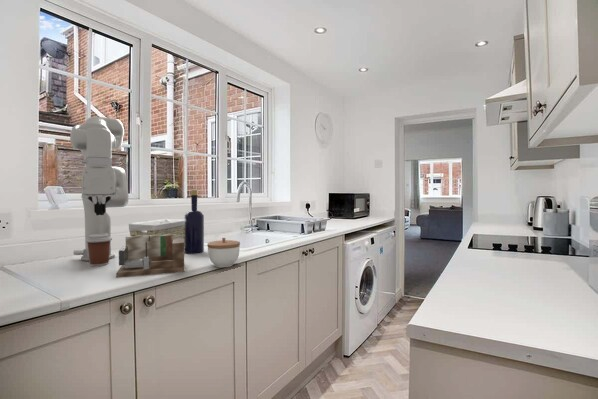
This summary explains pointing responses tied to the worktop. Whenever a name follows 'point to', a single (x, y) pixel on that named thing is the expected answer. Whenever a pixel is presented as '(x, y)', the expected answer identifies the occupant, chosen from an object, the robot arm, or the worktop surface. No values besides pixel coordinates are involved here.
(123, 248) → the grey angle bracket
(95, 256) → the coffee cup
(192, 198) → the bottle
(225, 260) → the lidded bowl
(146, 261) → the max needle
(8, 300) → the worktop surface
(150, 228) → the storage basket
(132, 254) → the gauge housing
